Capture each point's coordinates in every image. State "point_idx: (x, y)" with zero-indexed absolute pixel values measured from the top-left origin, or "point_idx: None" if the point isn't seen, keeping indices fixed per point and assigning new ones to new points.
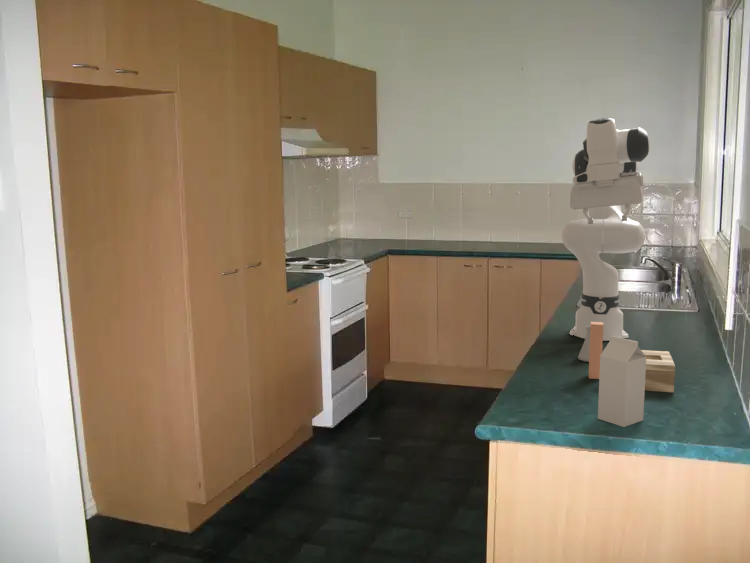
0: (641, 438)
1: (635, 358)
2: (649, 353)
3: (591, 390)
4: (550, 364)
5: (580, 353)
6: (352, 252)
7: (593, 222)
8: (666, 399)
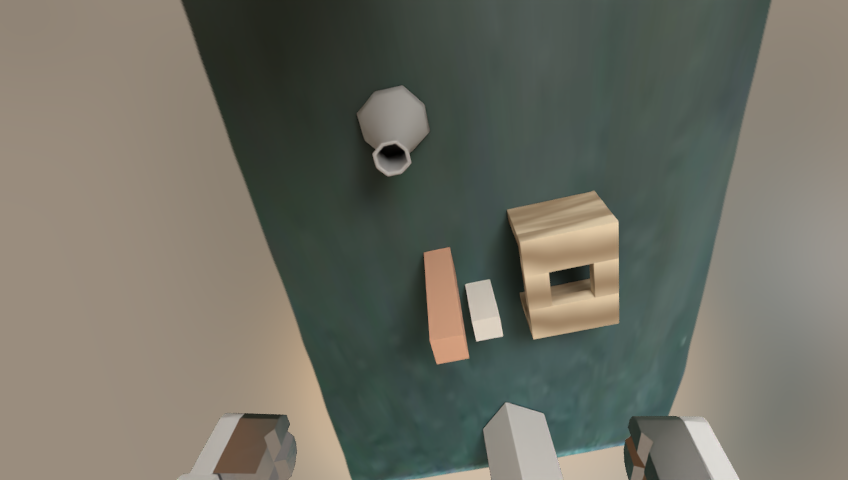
0: None
1: None
2: (568, 258)
3: None
4: (317, 211)
5: (368, 143)
6: None
7: (283, 427)
8: None
